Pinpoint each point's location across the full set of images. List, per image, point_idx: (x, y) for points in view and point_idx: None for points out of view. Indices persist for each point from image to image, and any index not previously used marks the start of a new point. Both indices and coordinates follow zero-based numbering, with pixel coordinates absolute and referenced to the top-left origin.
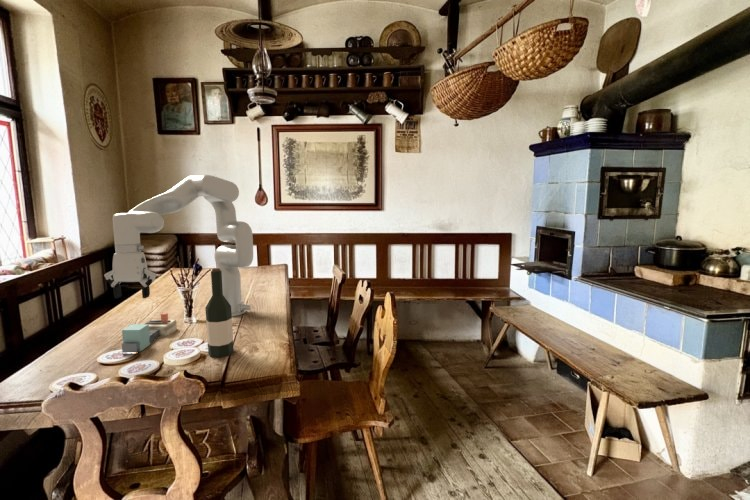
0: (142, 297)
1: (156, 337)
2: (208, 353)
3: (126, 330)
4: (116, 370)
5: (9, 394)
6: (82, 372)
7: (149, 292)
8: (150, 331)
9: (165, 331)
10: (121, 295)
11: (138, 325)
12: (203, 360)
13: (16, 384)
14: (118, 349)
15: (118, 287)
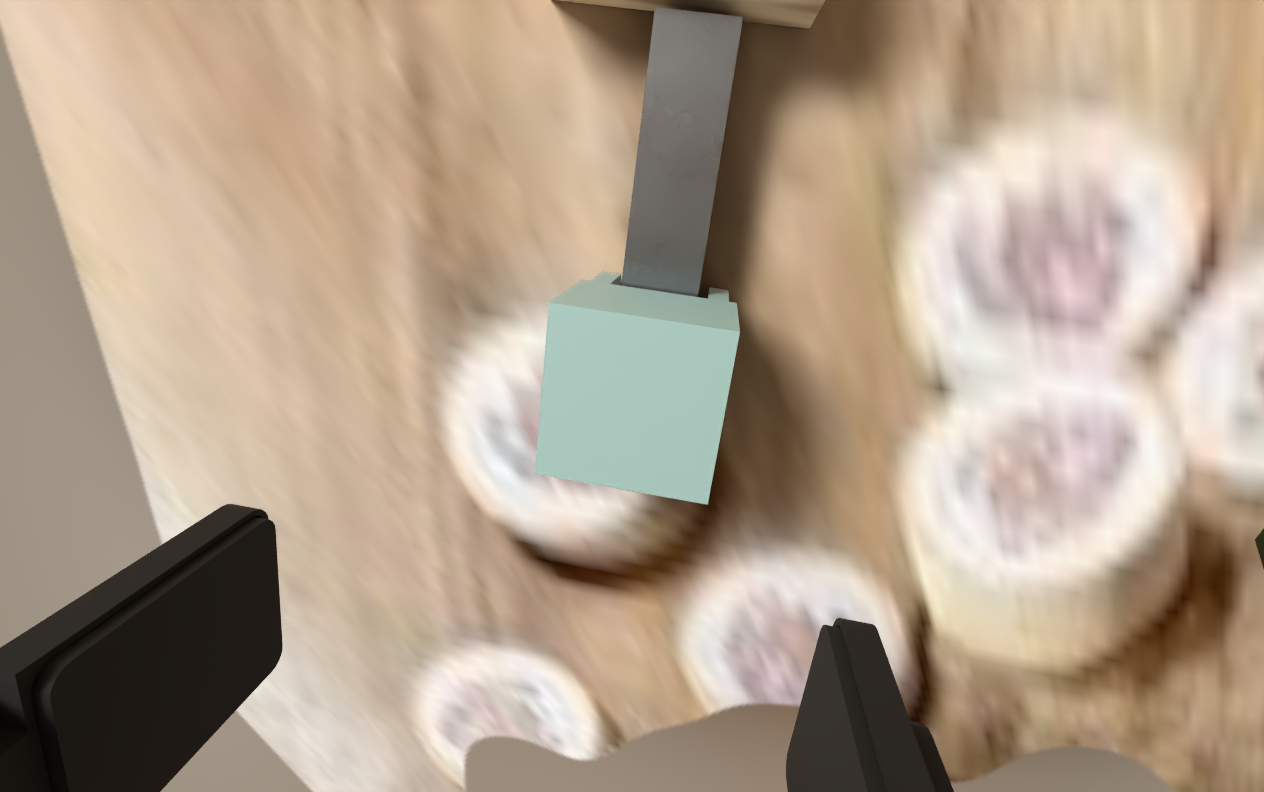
0: (787, 779)
1: (729, 103)
2: (1260, 545)
3: (579, 479)
4: (666, 659)
5: (313, 782)
6: (487, 643)
7: (934, 766)
8: (671, 88)
9: (803, 15)
10: (263, 529)
11: (638, 355)
12: (1213, 638)
13: (261, 700)
14: (507, 319)
15: (89, 755)
